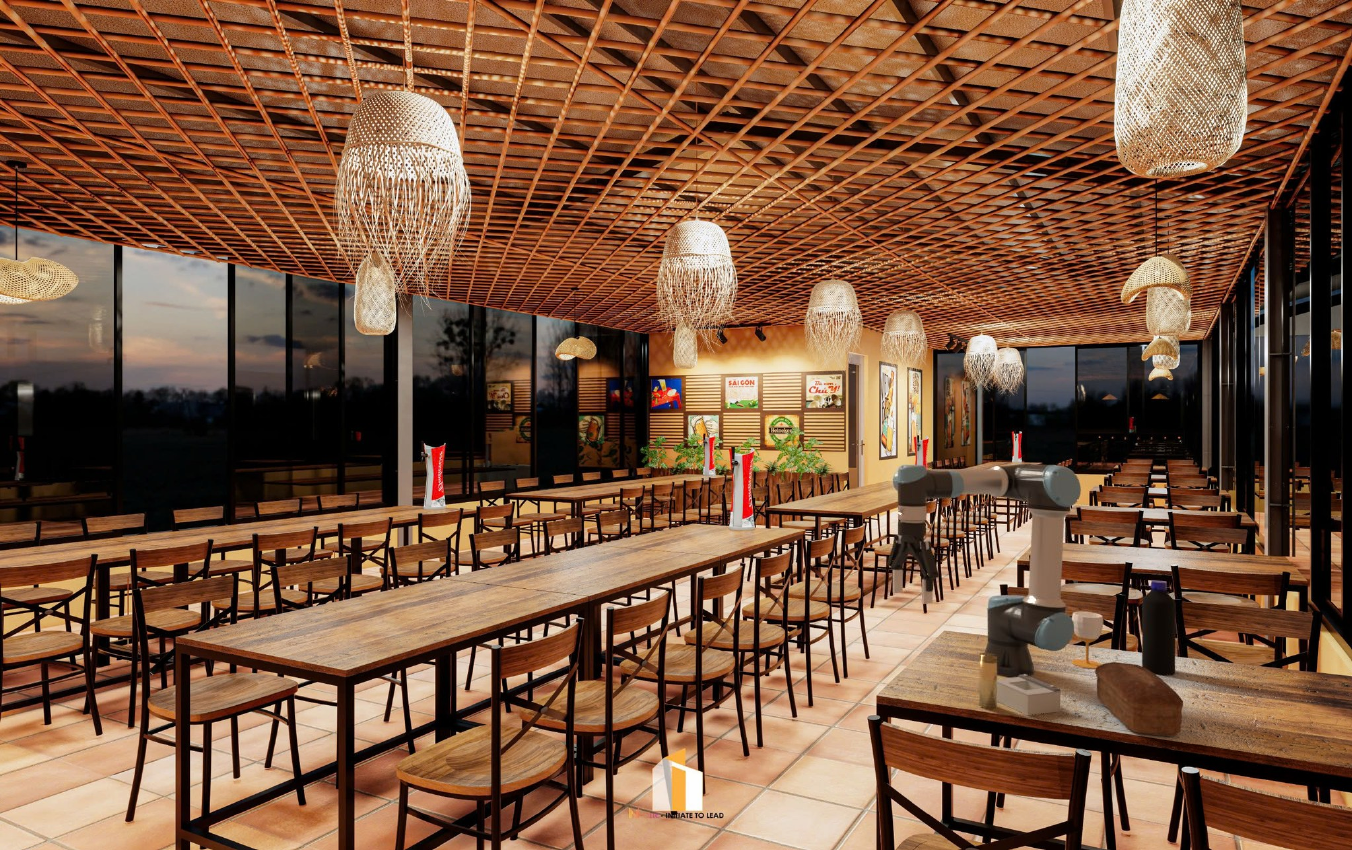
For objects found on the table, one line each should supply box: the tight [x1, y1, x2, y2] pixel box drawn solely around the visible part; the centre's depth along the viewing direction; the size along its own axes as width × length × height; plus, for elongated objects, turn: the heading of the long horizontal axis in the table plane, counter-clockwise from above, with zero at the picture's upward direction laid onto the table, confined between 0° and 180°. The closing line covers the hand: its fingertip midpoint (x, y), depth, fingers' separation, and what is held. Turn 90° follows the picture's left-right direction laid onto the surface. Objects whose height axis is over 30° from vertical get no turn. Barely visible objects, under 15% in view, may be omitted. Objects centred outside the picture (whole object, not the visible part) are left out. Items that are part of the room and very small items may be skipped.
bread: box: [1094, 661, 1184, 736], centre depth 202 cm, size 14×28×12 cm, turn 169°
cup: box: [1070, 611, 1104, 670], centre depth 248 cm, size 9×9×16 cm
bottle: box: [1141, 580, 1177, 676], centre depth 242 cm, size 9×9×28 cm
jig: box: [997, 674, 1061, 716], centre depth 210 cm, size 11×13×6 cm
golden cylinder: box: [978, 652, 998, 711], centre depth 209 cm, size 4×4×14 cm
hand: (912, 598), depth 213 cm, fingers open, 13 cm apart
